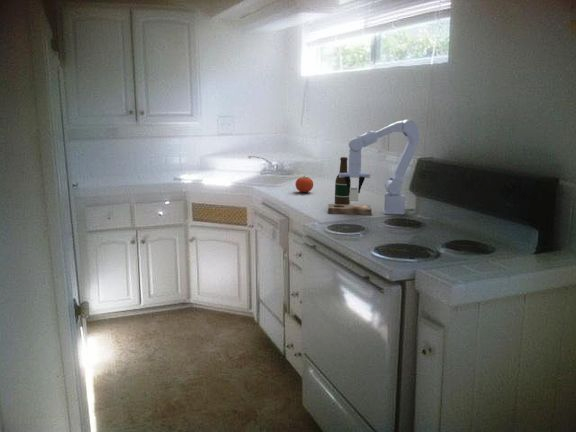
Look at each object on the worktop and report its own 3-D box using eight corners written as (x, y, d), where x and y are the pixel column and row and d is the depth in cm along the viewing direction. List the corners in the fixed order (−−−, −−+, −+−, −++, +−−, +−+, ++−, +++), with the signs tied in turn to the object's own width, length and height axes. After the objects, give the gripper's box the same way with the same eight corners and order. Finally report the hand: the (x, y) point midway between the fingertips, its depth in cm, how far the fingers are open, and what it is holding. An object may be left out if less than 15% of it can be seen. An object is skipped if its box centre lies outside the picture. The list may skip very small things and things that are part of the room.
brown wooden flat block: (369, 210, 252) (369, 204, 252) (371, 214, 242) (371, 208, 242) (328, 209, 254) (328, 203, 253) (328, 213, 244) (328, 207, 243)
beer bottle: (341, 202, 271) (342, 156, 266) (352, 204, 266) (355, 157, 261) (331, 204, 266) (333, 157, 261) (343, 206, 261) (345, 158, 255)
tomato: (313, 194, 294) (313, 176, 291) (295, 194, 294) (295, 176, 292) (312, 191, 304) (313, 174, 301) (295, 190, 304) (295, 173, 302)
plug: (357, 199, 249) (358, 187, 247) (358, 201, 245) (358, 188, 243) (349, 199, 249) (349, 187, 248) (349, 201, 245) (349, 188, 244)
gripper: (339, 164, 240) (338, 193, 243) (371, 165, 239) (370, 194, 242) (339, 163, 247) (338, 191, 250) (370, 163, 245) (368, 191, 248)
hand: (353, 192), depth 246 cm, fingers closed on plug, 4 cm apart
